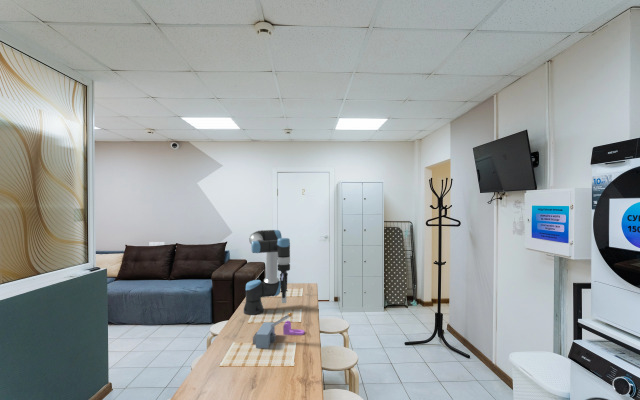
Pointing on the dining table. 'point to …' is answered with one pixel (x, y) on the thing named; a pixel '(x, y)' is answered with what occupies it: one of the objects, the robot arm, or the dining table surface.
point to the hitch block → (264, 335)
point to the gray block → (272, 338)
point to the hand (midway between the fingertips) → (284, 302)
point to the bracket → (291, 330)
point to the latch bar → (281, 320)
